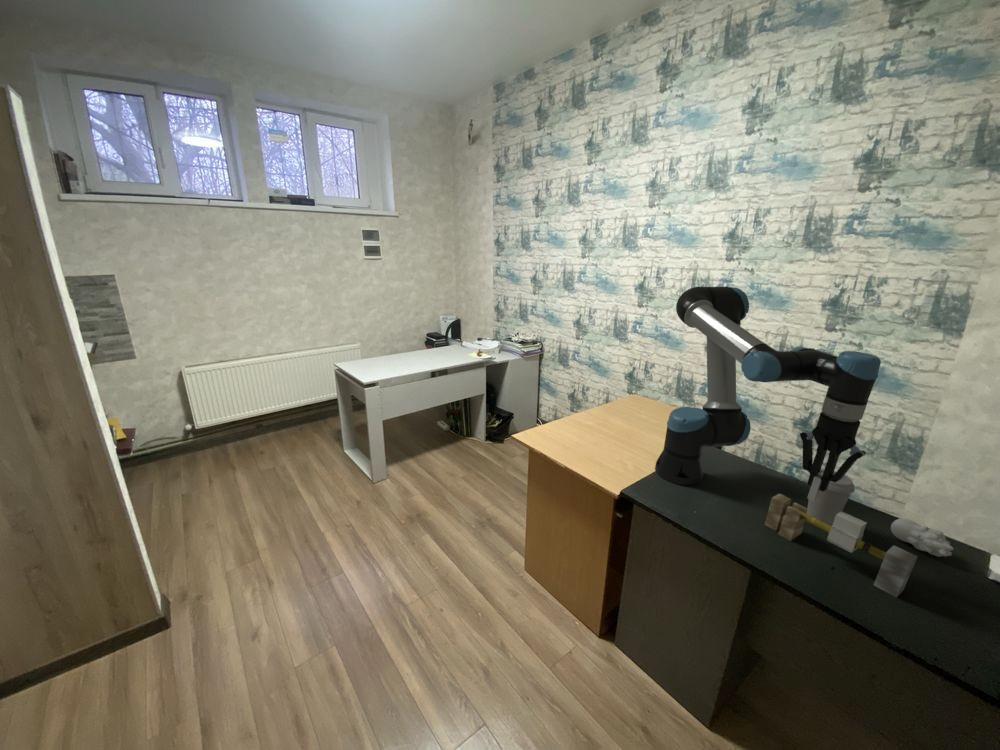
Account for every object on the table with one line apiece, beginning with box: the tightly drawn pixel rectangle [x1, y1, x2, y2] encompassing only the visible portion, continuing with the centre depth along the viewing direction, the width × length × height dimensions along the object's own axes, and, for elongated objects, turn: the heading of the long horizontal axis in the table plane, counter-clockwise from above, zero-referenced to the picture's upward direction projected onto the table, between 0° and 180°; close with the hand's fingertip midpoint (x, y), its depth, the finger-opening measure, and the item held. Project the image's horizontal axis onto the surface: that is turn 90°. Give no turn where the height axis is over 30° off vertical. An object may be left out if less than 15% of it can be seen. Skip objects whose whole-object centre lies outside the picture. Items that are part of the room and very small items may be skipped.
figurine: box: [890, 518, 954, 558], centre depth 102 cm, size 7×7×12 cm
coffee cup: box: [806, 468, 856, 528], centre depth 109 cm, size 10×10×15 cm
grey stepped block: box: [826, 510, 868, 554], centre depth 95 cm, size 5×4×7 cm
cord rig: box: [764, 493, 918, 599], centre depth 98 cm, size 28×6×10 cm, turn 30°
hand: (812, 498), depth 101 cm, fingers closed
